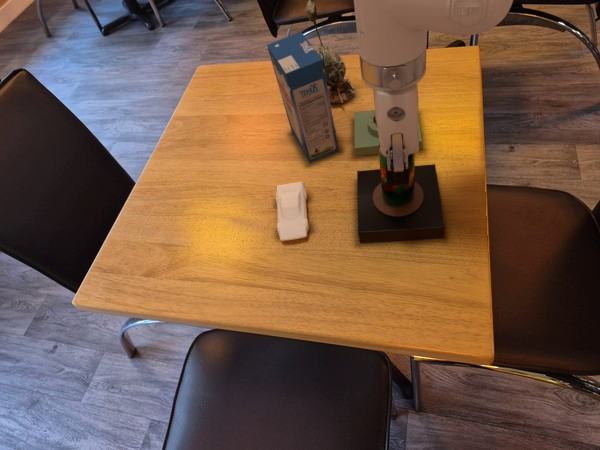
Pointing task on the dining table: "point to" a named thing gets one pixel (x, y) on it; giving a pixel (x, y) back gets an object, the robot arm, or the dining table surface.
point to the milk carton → (304, 95)
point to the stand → (399, 209)
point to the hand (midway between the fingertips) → (396, 166)
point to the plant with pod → (332, 66)
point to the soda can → (401, 192)
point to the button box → (368, 133)
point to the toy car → (292, 211)
